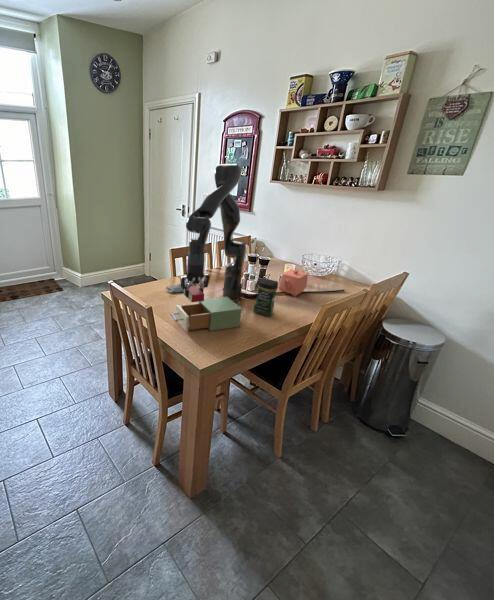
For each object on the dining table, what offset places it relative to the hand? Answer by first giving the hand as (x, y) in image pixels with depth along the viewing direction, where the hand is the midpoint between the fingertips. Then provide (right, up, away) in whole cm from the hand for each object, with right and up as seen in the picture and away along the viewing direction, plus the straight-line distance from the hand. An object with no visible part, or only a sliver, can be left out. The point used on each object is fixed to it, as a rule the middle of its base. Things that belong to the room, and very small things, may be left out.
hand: (193, 296), depth 153 cm
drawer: (-1, -13, +6) cm, 15 cm away
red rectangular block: (0, -1, 0) cm, 1 cm away
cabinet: (+13, -13, +10) cm, 21 cm away
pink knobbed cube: (+64, +3, +46) cm, 79 cm away
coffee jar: (+39, -9, +21) cm, 45 cm away
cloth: (-1, +6, +50) cm, 50 cm away
